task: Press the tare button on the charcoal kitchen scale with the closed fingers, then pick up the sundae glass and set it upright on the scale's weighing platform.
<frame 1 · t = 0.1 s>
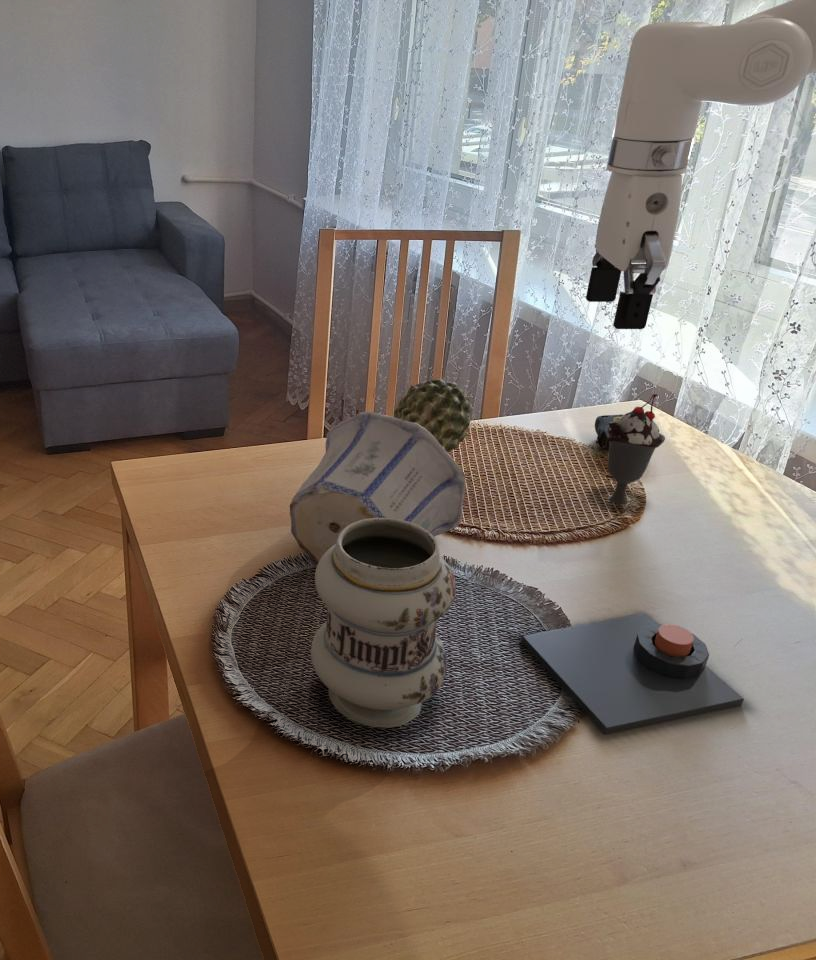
hand: (613, 314, 98), 25 cm above the table, tool pointing down, fingers open, 9 cm apart
scale: (623, 678, 82), on the table
tape measure: (613, 447, 124), on the table
tare button: (673, 640, 81), point 4 cm above the table, slide at 0.2 cm
potted plant: (392, 533, 106), on the table
apothecary jar: (373, 704, 81), on the table
sundae: (616, 506, 110), on the table
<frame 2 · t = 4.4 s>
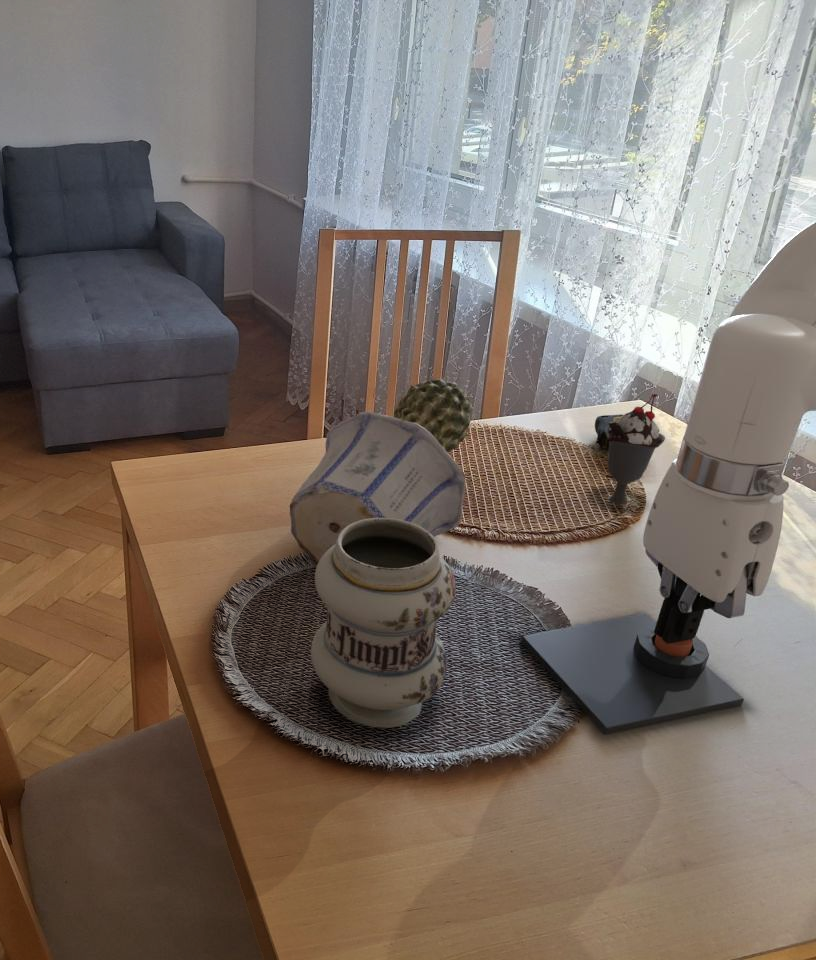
hand: (673, 635, 81), 4 cm above the table, tool pointing down, fingers closed
tare button: (673, 642, 81), point 3 cm above the table, slide at 0.0 cm, touching gripper
everything else where it was.
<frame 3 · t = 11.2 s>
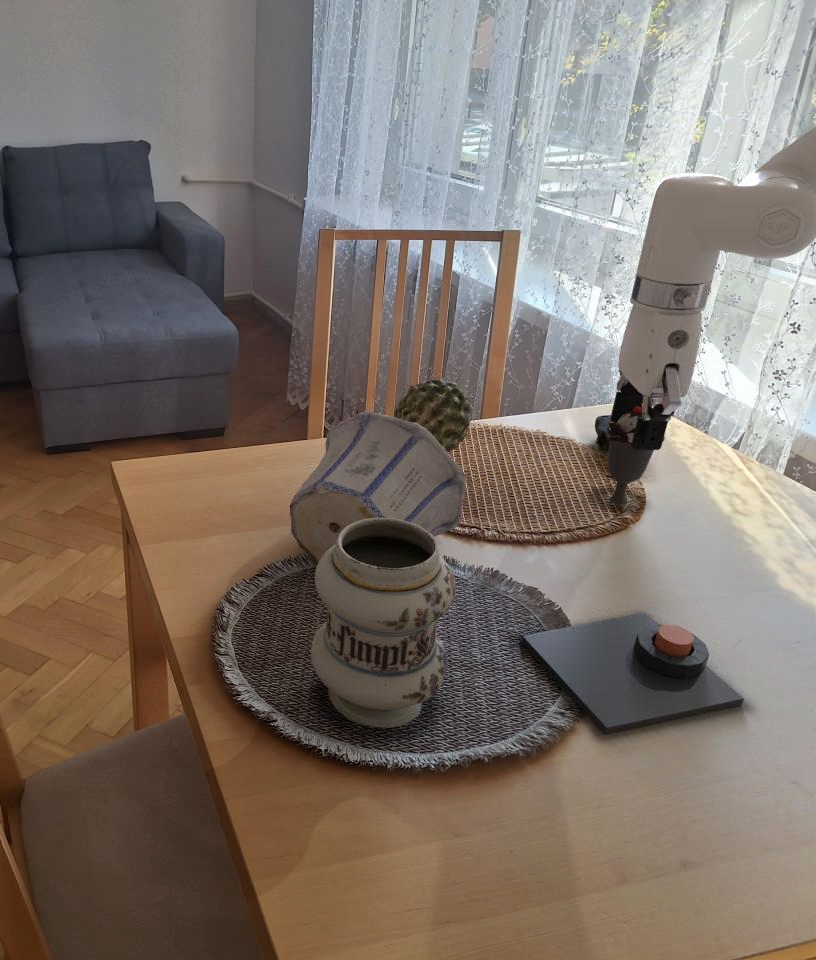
hand: (634, 433, 105), 10 cm above the table, tool pointing down, fingers closed on sundae, 6 cm apart
tare button: (673, 640, 81), point 4 cm above the table, slide at 0.1 cm
sundae: (616, 506, 110), on the table, touching gripper
everything else where it was.
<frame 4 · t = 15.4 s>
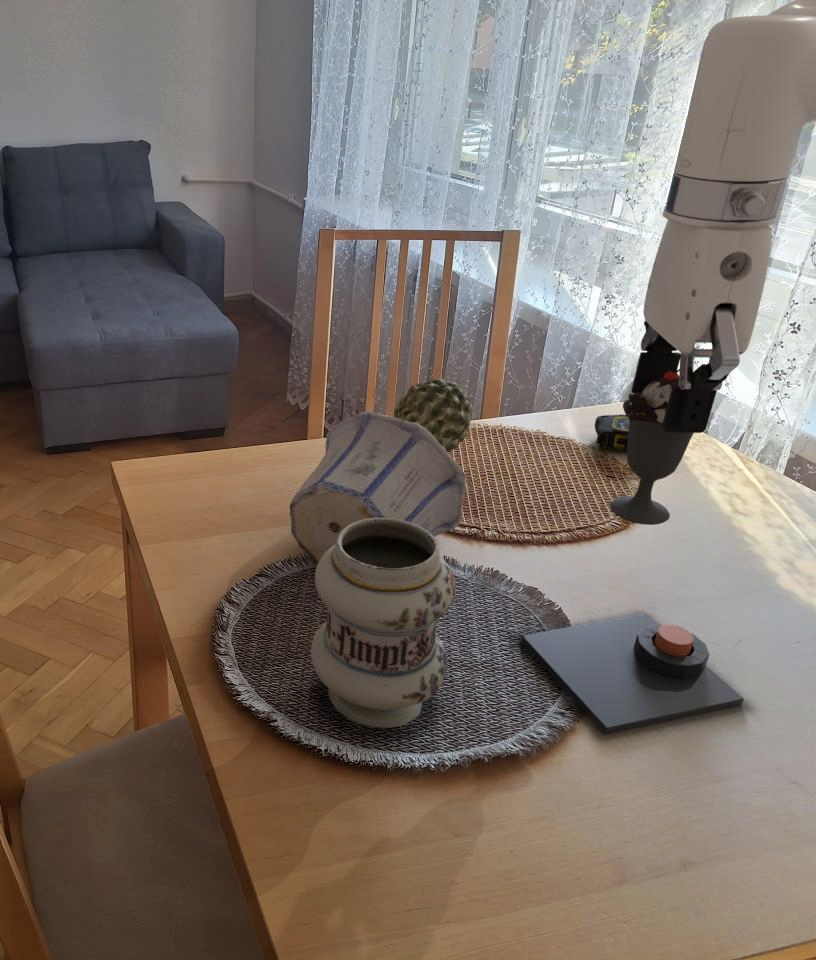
hand: (666, 410, 74), 26 cm above the table, tool pointing down, fingers closed on sundae, 6 cm apart
sundae: (638, 512, 79), point 15 cm above the table, touching gripper
everything else where it was.
when the fingers open (12 cm above the table, at t = 19.6 s): sundae stays where it is, resting on scale.
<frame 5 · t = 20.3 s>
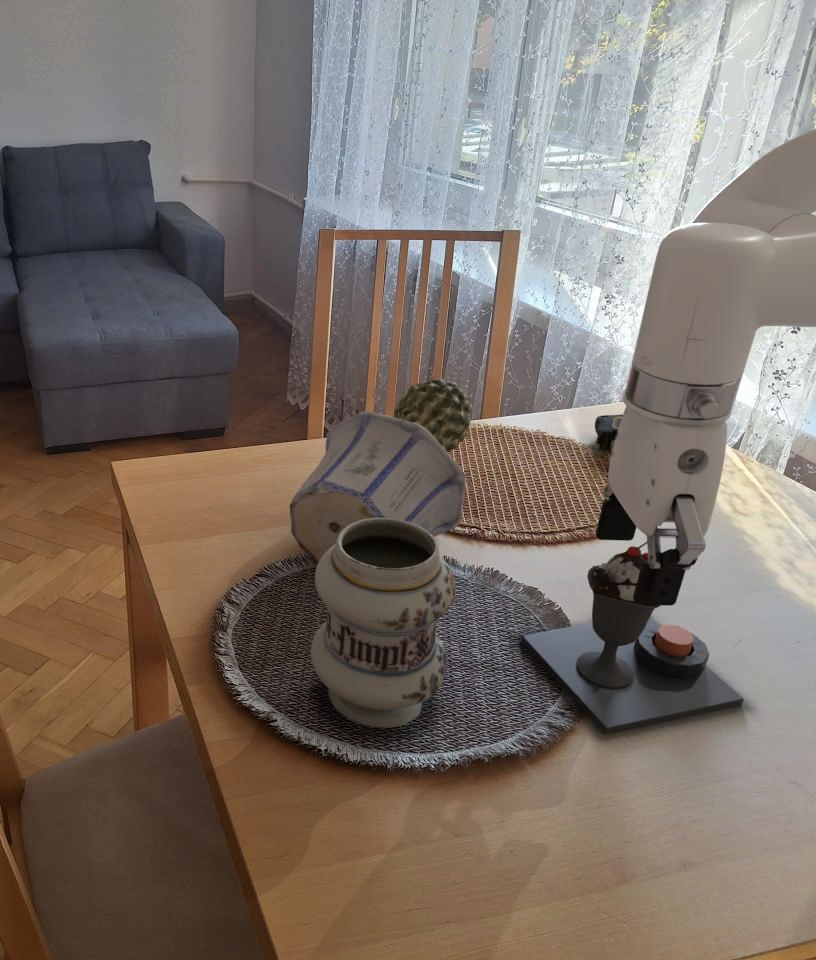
hand: (632, 569, 75), 13 cm above the table, tool pointing down, fingers open, 9 cm apart
sundae: (604, 671, 81), point 1 cm above the table, touching scale
everything else where it was.
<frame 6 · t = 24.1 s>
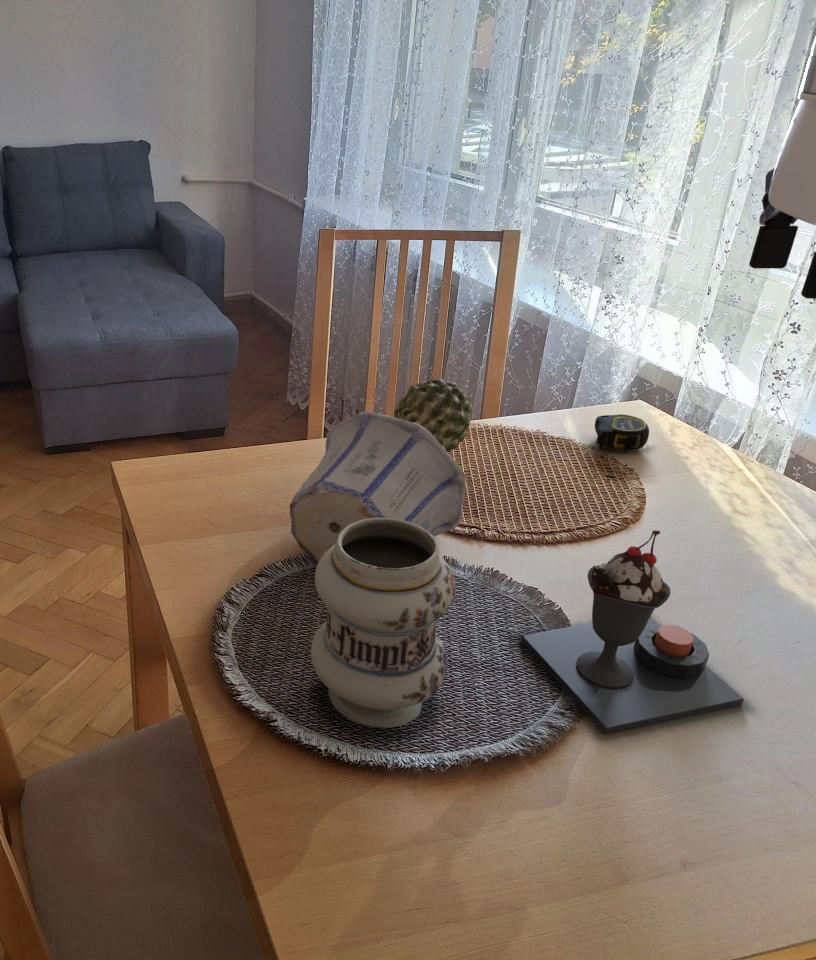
hand: (792, 281, 80), 33 cm above the table, tool pointing down, fingers open, 9 cm apart
nothing on the table moved.
at the end: tare button pushed in 0.9 cm at the most during the clip, back to where it started at the end; sundae inside the target area on the scale (0.1 cm from its centre), point 1.4 cm above the scale's base; sundae tilted 0° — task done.
